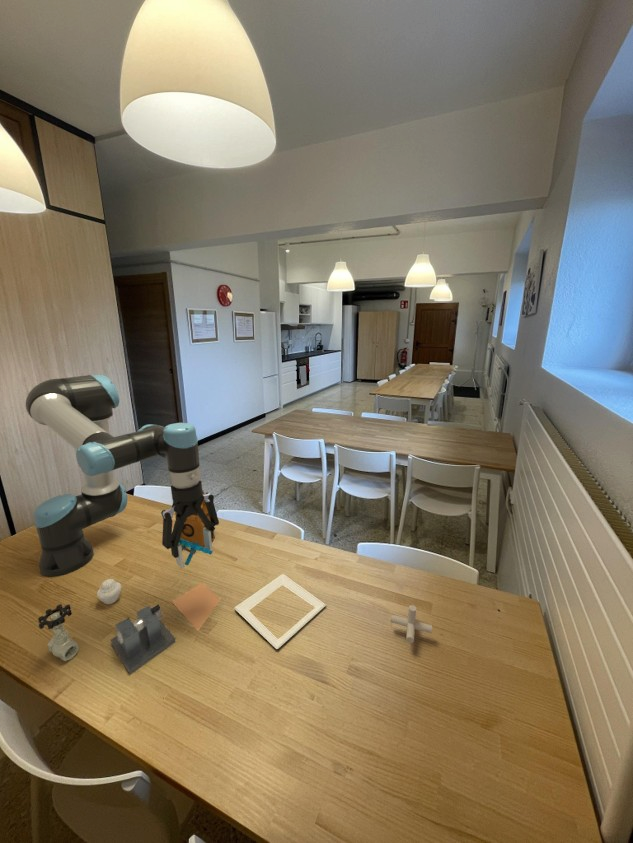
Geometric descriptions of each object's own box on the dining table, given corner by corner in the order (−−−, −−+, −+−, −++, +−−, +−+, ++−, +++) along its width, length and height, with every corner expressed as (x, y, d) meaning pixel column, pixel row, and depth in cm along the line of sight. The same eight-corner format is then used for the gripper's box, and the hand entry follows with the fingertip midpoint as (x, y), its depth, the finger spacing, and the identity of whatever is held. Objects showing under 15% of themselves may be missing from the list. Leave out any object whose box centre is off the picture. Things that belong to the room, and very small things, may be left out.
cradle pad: (171, 602, 97) (171, 601, 97) (202, 583, 105) (202, 582, 104) (198, 631, 88) (198, 630, 88) (230, 608, 95) (230, 607, 95)
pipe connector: (430, 628, 89) (433, 598, 86) (429, 662, 80) (433, 630, 77) (392, 618, 92) (394, 588, 89) (387, 650, 83) (390, 618, 80)
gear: (220, 552, 91) (194, 543, 84) (211, 574, 89) (183, 567, 82) (196, 541, 98) (170, 532, 90) (186, 561, 95) (158, 554, 88)
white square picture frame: (326, 610, 95) (326, 604, 94) (277, 655, 82) (276, 648, 81) (283, 578, 107) (282, 572, 107) (234, 613, 94) (233, 607, 93)
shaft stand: (111, 644, 84) (105, 618, 82) (155, 616, 92) (151, 592, 90) (130, 675, 77) (124, 647, 75) (175, 642, 85) (171, 616, 83)
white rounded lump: (95, 610, 95) (90, 590, 93) (104, 594, 100) (99, 574, 98) (119, 606, 96) (115, 586, 94) (126, 590, 102) (122, 571, 100)
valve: (57, 671, 78) (46, 630, 74) (42, 659, 80) (30, 620, 77) (86, 647, 83) (77, 609, 80) (71, 637, 86) (61, 600, 83)
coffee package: (202, 552, 119) (196, 497, 113) (175, 544, 123) (168, 491, 117) (219, 536, 128) (214, 485, 122) (193, 530, 132) (187, 480, 126)
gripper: (151, 502, 76) (164, 584, 82) (228, 473, 91) (234, 545, 97) (138, 492, 80) (151, 570, 86) (213, 466, 96) (219, 535, 102)
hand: (195, 557), depth 92 cm, fingers closed on gear, 8 cm apart
